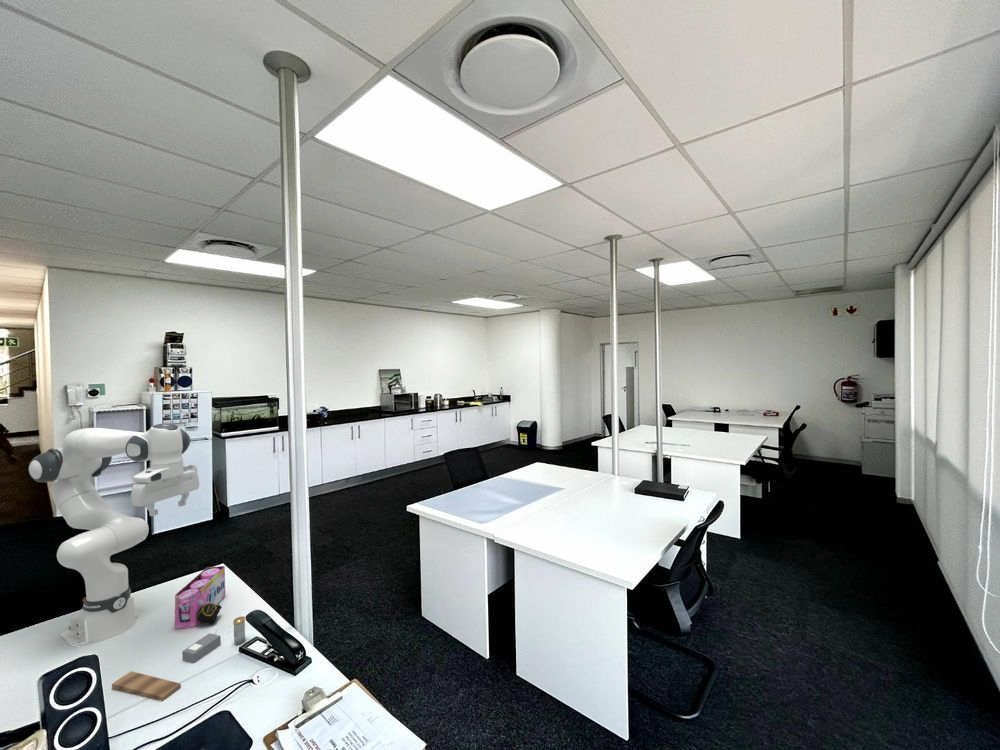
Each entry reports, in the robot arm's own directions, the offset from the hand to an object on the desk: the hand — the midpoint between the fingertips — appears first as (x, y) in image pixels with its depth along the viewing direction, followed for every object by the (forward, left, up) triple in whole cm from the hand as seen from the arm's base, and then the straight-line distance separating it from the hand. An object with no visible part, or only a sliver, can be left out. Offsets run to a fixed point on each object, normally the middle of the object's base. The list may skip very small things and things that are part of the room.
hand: (168, 510), depth 138 cm
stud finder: (+16, -2, -47) cm, 49 cm away
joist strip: (+15, -18, -46) cm, 52 cm away
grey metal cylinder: (+24, +5, -46) cm, 53 cm away
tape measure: (+3, +12, -47) cm, 48 cm away
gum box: (-7, +16, -47) cm, 50 cm away
